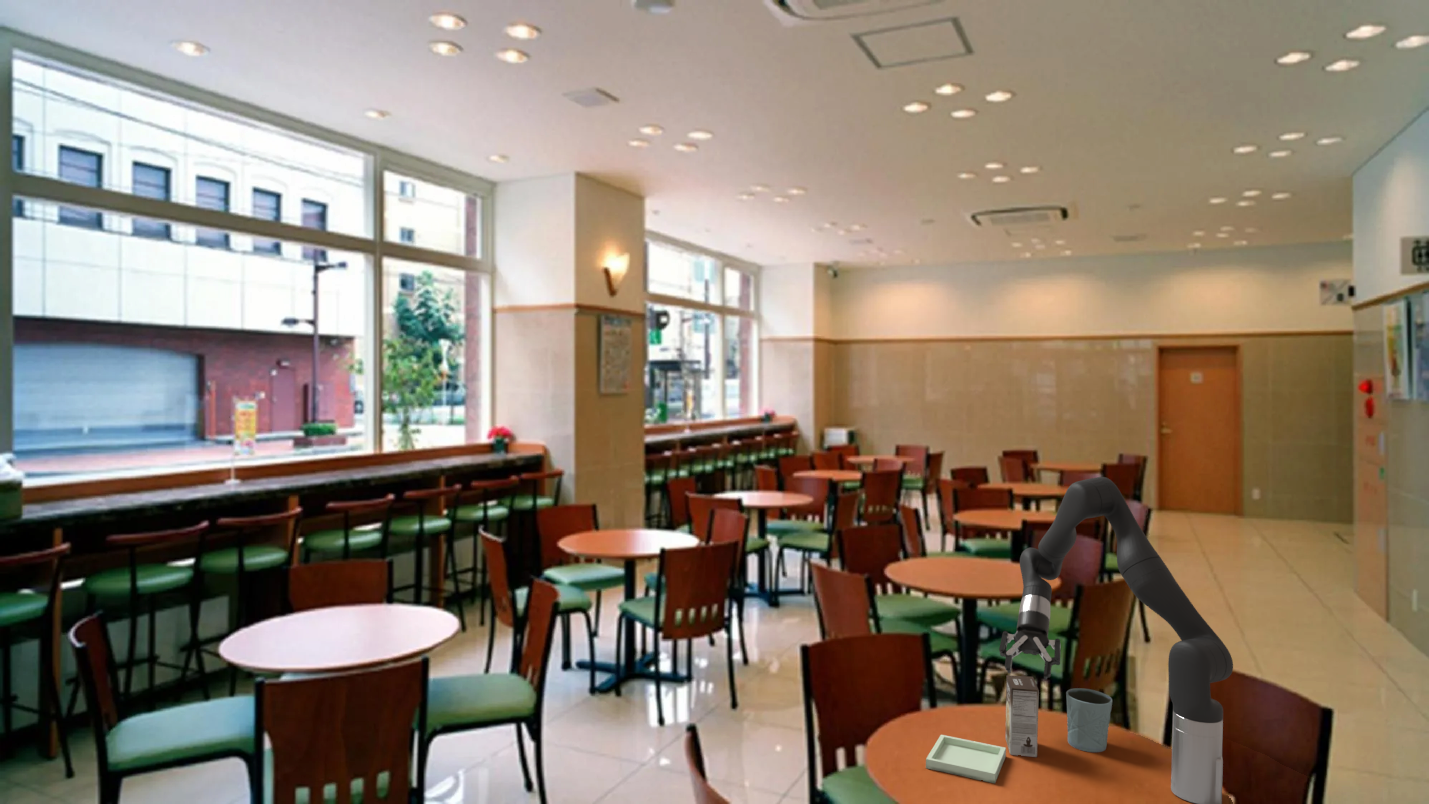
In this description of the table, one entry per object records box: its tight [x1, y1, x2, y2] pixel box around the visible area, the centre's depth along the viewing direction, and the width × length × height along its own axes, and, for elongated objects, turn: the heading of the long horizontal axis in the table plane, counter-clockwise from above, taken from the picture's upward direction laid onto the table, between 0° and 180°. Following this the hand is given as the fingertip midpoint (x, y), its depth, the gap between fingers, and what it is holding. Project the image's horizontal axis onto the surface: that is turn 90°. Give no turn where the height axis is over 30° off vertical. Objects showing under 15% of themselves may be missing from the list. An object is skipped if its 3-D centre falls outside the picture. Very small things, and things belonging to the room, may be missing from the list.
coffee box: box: [1005, 674, 1040, 758], centre depth 201 cm, size 9×6×16 cm
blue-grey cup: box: [1065, 687, 1113, 753], centre depth 203 cm, size 10×10×12 cm
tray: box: [925, 734, 1007, 784], centre depth 193 cm, size 15×15×2 cm
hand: (1027, 674), depth 208 cm, fingers open, 8 cm apart
